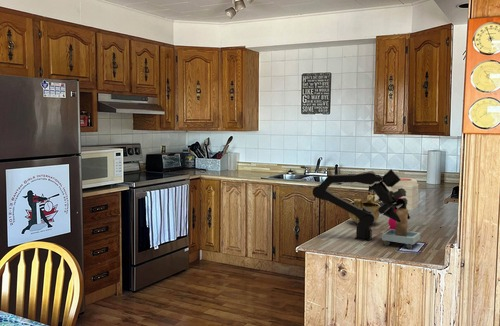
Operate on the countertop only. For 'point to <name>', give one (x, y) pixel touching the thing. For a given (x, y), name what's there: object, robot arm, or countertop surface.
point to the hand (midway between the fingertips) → (404, 220)
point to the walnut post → (402, 222)
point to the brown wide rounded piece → (368, 204)
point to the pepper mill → (392, 222)
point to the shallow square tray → (401, 238)
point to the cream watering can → (410, 188)
